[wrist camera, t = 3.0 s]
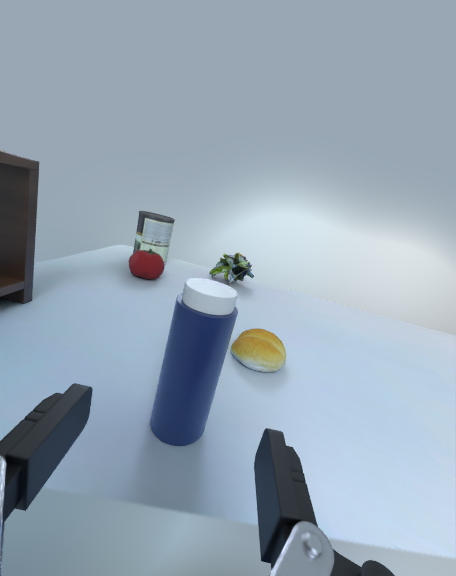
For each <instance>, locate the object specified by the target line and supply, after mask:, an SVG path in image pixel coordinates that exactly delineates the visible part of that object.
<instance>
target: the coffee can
mask: <svg viewBox="0 0 456 576" xmlns="http://www.w3.org/2000/svg"><path fill="white" fill-rule="evenodd" d="M174 221H175V220H174V219H173V218H170V217H167V216H163V215H159V214H155V213H151V212H146V211H139V220H138V226H137V233H136V239H135V246H134V251H133V253H135V252H136V251H139V250H146V251H147V250H149V249H152V251H154V252H156V253H157V254H160V256H161V257H162V259H163V262H164V265H165V264H166V259H167V254H168V248H169V244H170V239H171V234H172V228H173V223H174Z"/></svg>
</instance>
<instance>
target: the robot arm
mask: <svg viewBox="0 0 456 576" xmlns="http://www.w3.org/2000/svg"><path fill="white" fill-rule="evenodd" d="M91 398H92V387H89V386H84V385H80V384H76V383H75V384H73V385H71V386H70V387H69V389H68V390H67V391H66V392H65V393H64V394H60V393H55V394H53V395H52V396H50V397H48V398H46V399H44V400H43V401H42V402H41V403H40V404H39V405H38V406H36V407H35V408H34V409H33V411H31V412H30V413H29V414H28V415H27V416H26V417H25V419H24V420H22V421H21V422H20V423H19V424H18V425H17V426H16V427H15V428H14V429H13V430H11V431H10V432H9V433H8V434H7V435H6V436H5V437H4V438H3V439H2V440H1V441H0V576H1V569H2V555H3V540H4V526H5V520H6V519H7V518H8V516H9V515H10V514H11V512H12V511H13V510H14V508H15V509H20V510H25V511H26V509H27V508H28V507H29V505H30V503H31V502H32V501H33V499H34V498H35V496H36V495H37V494H38V492H39V491H40V490H41V488H42V487H43V485H44V484H45V483H46V481H47V480H48V478H49V477H50V476H51V474H52V473H53V471H54V470H55V469H56V467H57V466H58V464H59V463H60V462H61V460H62V459H63V457H64V456H65V454H66V453H67V452H68V450H69V449H70V447H71V446H72V445H73V443H74V442H75V440H76V439H77V438H78V436H79V435H80V433H81V432H82V430H83V429H84V427H85V425H86V423H87V421H88V418H89V413H90V405H91ZM254 471H255V485H256V498H257V511H258V525H259V538H260V550H261V561H263V562H267V563H271V570H272V571H271V573H270V575H269V576H394V574H393V573H392V572H391V571H390V570H388V569H387V568H386V567H385V566H384V565H382V564H380V563H379V562H376V561H372V560H369V561H366V562H365V563H363V565H362V567H360V566H358V565H357V564H355V563H353V562H352V561H350V560H348V559H347V558H345V557H343V556H342V555H340V554H339V553H337V552H336V551H335V550H333V548H332V546H331V544H330V542H329V540H328V538H327V537H326V535H325V534H324V533H323V531H322V530H321V529H320V528H318V525H317V522H316V518H315V515H314V511H313V507H312V503H311V500H310V496H309V492H308V488H307V484H306V483H305V477H304V473H303V469H302V466H301V462H300V458H299V457H298V455H297V454H296V452H295V450H294V449H293V447H289V446H286V444H285V439H284V435H283V432H281V431H277V430H272V429H268V428H266V429H265V430H264V433H263V436H262V438H261V441H260V444H259V447H258V450H257V452H256V456H255V463H254Z"/></svg>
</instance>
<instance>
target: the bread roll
mask: <svg viewBox="0 0 456 576" xmlns="http://www.w3.org/2000/svg"><path fill="white" fill-rule="evenodd" d="M231 351H232V353H233V355H234V356H235V358H237V359H238V360H239V361H240V362H241V363H242V364H243V365H245V366H246V367H248V368H250V369H253V370H256V371H260V372H275V371H278V370H280V369H281V368H282V367H283V366H284V364H285V362H286V351H285V348H284V345H283V343H282V341H281V340H280V339H279V338H278V337H277V336H276V335H275V334H273V333H271V332H269V331H266V330H264V329H250V330H247V331H244V332H243V333H241V334H240V336H239V337H238V339H237V340H236V341H235V342H234V343H233V345H232V347H231Z"/></svg>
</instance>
